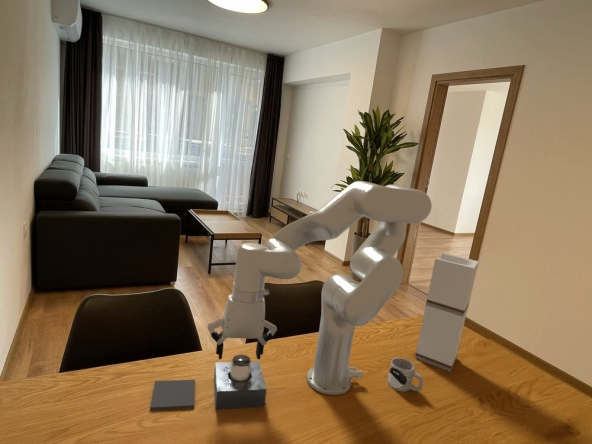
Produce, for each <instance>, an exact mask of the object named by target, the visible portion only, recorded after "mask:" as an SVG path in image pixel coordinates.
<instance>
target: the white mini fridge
mask: <svg viewBox="0 0 592 444" xmlns="http://www.w3.org/2000/svg"><path fill="white" fill-rule="evenodd" d="M433 263H434V264H433V268H432V272H431V277H430V283H429V288H428V292H427V293H428V294H427V298H426V302H425V307H424V312H423V317H422V322H421V327H420V332H419V337H418V340H417V346H416V352H415V357H414V359H415V358H416V360H418V359H419V360H418V361H421V362H423V361H424V363H426V364H428V363H429V365H431V364H432V365H431V366H433V365H434V367H436V366H437V367H436V368H438V367H439V369H441V368H442V370H443V371H444V370H445V371H446V370H447V372H449V373H451V372H452V370H453V368H454V365H455V363H456V361H457V358H458V352H459V347H460V344H461V339H462V334H463V331H464V327H465V326H464V325H465V322H466V321H465V320H466V318H467V317H466V316H467V312H468V309H469V305H470V301H471V296H472V292H473V289H474V288H473V287H474V284H475V280H476V279H475V278H476V274H477V269H478V265H479V261H478V260H473V259H470V258H466V257H462V256H461V257H460V256H457V255H454V254H449V253H445V252H441V255H440V258H437V257H435V258H434V262H433ZM455 360H456V361H455Z"/></svg>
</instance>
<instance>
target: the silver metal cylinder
mask: <svg viewBox="0 0 592 444" xmlns="http://www.w3.org/2000/svg"><path fill="white" fill-rule="evenodd" d="M230 362H231V371H230V380H232V381H234V382H236V383H244V382H247V381H248V380H249V377H250V368H251V362H252V360H251V358H250V357H249V356H248V355H245V354H237V355H234V356H233V357H232V359H231V361H230Z"/></svg>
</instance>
